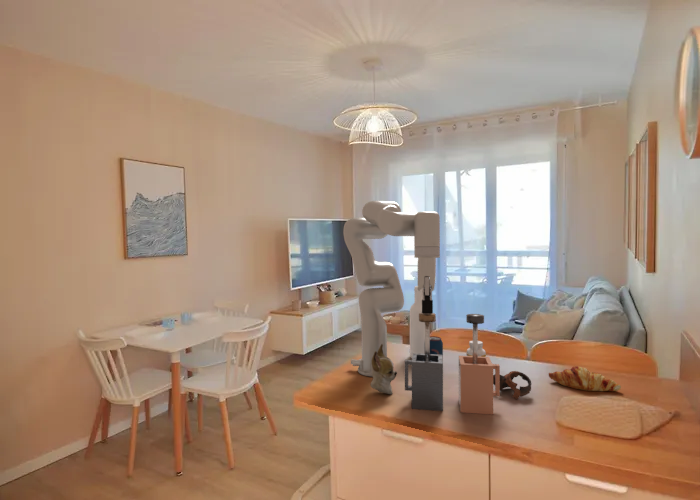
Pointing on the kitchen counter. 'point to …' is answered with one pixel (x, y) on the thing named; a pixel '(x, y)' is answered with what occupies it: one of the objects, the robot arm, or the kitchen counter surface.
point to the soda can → (436, 345)
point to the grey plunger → (475, 332)
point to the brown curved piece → (507, 382)
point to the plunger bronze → (427, 331)
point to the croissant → (584, 380)
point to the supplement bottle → (480, 351)
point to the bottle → (417, 325)
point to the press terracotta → (477, 385)
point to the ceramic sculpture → (382, 372)
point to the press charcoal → (426, 382)
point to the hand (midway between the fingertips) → (427, 313)
